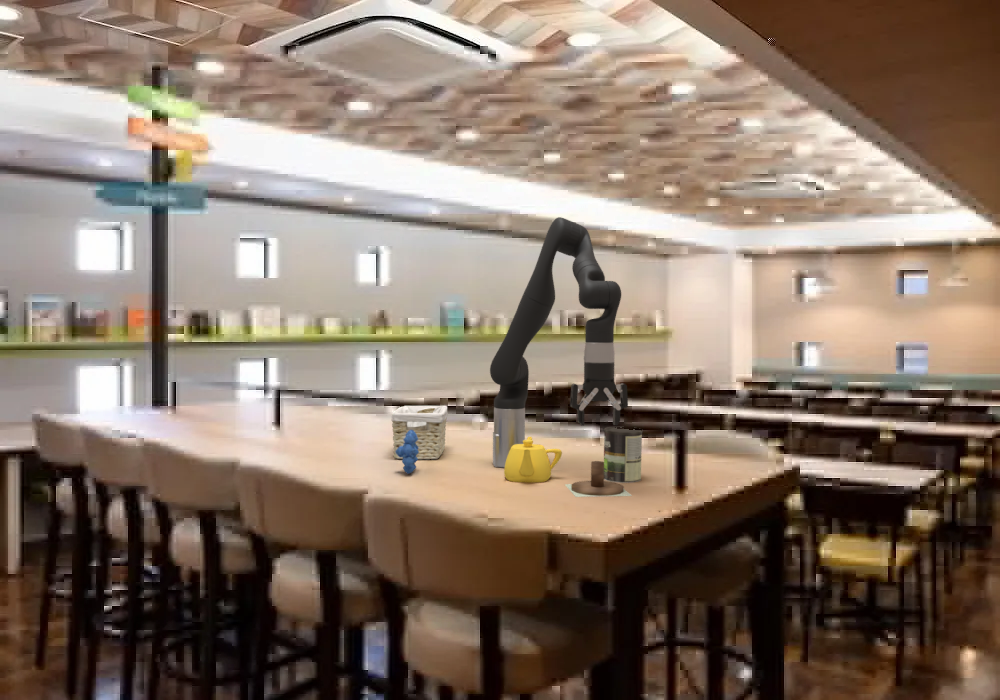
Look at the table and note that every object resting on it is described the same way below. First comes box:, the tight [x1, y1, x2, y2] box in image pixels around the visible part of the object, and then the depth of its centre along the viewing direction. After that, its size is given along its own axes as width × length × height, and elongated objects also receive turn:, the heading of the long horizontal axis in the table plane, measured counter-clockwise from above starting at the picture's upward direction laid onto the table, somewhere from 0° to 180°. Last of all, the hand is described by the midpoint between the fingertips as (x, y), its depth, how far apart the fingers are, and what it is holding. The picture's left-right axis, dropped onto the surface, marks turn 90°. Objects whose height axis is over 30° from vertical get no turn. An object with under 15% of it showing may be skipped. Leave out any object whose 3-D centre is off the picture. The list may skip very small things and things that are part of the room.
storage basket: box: [391, 405, 448, 460], centre depth 244 cm, size 24×16×15 cm
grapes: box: [395, 430, 419, 475], centre depth 214 cm, size 12×7×12 cm, turn 177°
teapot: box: [503, 436, 563, 484], centre depth 206 cm, size 22×16×11 cm
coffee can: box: [603, 426, 643, 484], centre depth 205 cm, size 10×10×14 cm
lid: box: [571, 460, 625, 497], centre depth 191 cm, size 13×13×7 cm
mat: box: [564, 483, 633, 498], centre depth 191 cm, size 14×14×1 cm
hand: (598, 425), depth 191 cm, fingers open, 8 cm apart
